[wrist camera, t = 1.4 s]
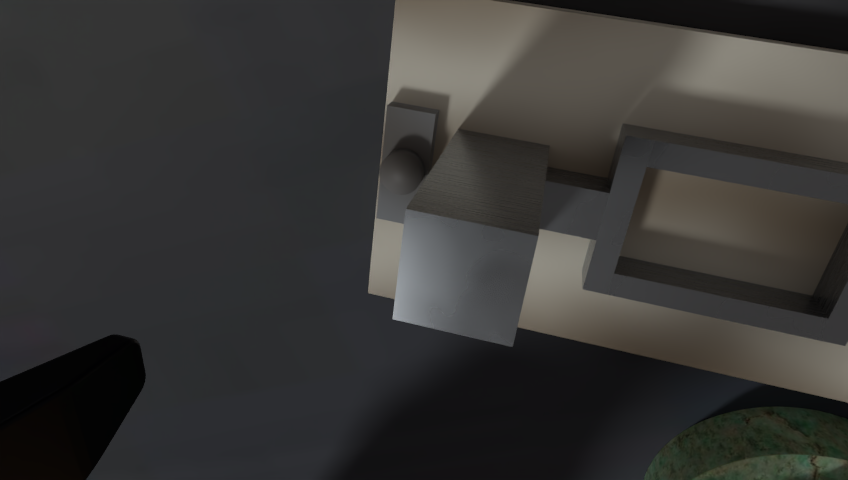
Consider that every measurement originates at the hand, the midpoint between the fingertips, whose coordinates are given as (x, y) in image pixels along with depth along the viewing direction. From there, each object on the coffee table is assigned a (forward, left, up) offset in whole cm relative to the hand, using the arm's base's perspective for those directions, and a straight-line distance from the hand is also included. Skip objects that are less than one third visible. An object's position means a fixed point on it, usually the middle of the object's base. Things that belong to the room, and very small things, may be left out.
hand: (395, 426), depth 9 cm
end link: (0, -5, -12) cm, 13 cm away
